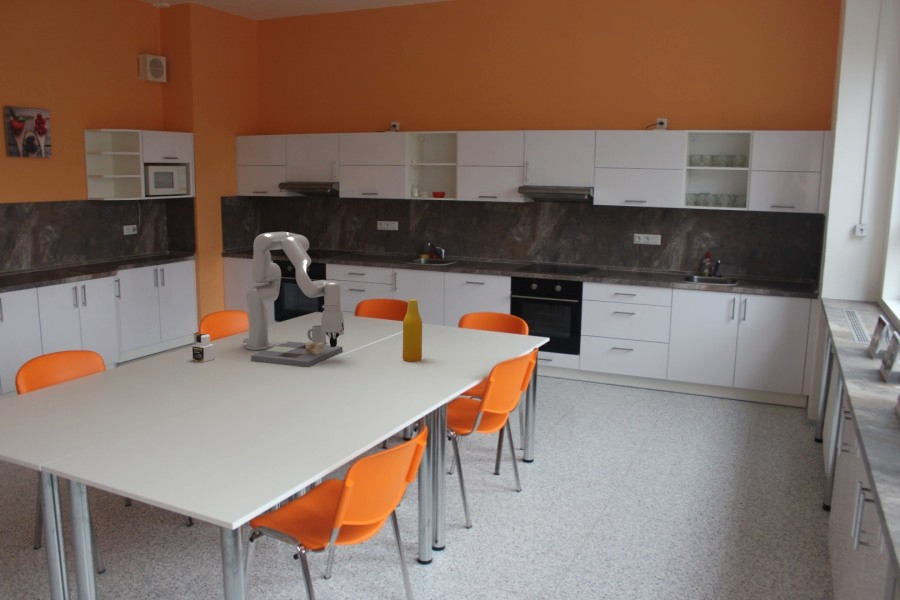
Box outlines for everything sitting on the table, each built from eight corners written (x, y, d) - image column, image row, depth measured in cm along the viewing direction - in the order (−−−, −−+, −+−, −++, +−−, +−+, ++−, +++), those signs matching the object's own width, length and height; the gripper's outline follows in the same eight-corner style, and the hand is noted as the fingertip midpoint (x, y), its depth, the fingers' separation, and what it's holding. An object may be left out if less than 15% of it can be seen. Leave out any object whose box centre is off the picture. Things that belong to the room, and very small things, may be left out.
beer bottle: (417, 362, 361) (418, 302, 356) (399, 361, 364) (400, 300, 359) (424, 358, 370) (425, 299, 365) (406, 356, 373) (407, 297, 368)
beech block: (306, 353, 365) (305, 344, 364) (312, 350, 370) (312, 341, 370) (317, 354, 363) (317, 345, 362) (323, 352, 368) (323, 342, 368)
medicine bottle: (192, 360, 357) (191, 335, 355) (203, 357, 364) (203, 332, 362) (203, 362, 354) (202, 336, 352) (215, 359, 360) (214, 334, 358)
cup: (323, 345, 394) (322, 328, 393) (304, 344, 396) (304, 327, 395) (328, 342, 401) (328, 325, 400) (310, 341, 403) (310, 324, 402)
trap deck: (251, 360, 359) (251, 355, 358) (289, 346, 390) (289, 341, 390) (308, 367, 349) (308, 361, 349) (342, 351, 381) (342, 346, 380)
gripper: (314, 308, 359) (315, 347, 361) (343, 310, 354) (344, 349, 357) (322, 306, 366) (323, 343, 368) (350, 307, 361) (351, 346, 364)
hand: (333, 346), depth 363 cm, fingers closed
